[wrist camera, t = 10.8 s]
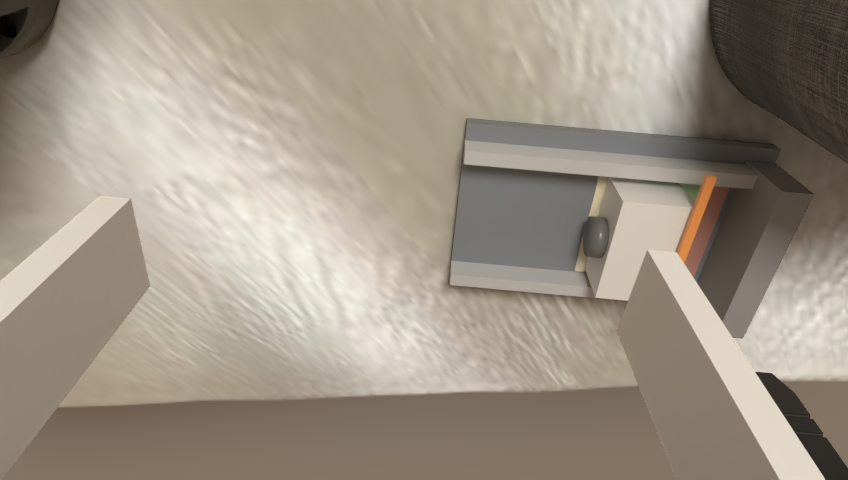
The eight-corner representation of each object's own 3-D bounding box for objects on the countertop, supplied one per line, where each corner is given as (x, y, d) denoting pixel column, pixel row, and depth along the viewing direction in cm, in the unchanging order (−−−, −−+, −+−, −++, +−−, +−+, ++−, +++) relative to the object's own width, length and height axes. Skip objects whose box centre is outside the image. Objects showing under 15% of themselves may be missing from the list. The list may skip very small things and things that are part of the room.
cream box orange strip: (566, 291, 45) (576, 327, 41) (603, 142, 38) (620, 169, 34) (639, 297, 45) (656, 334, 41) (690, 150, 38) (717, 177, 34)
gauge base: (448, 276, 46) (447, 321, 41) (467, 118, 39) (467, 149, 34) (706, 299, 46) (737, 348, 41) (773, 144, 39) (820, 179, 34)
